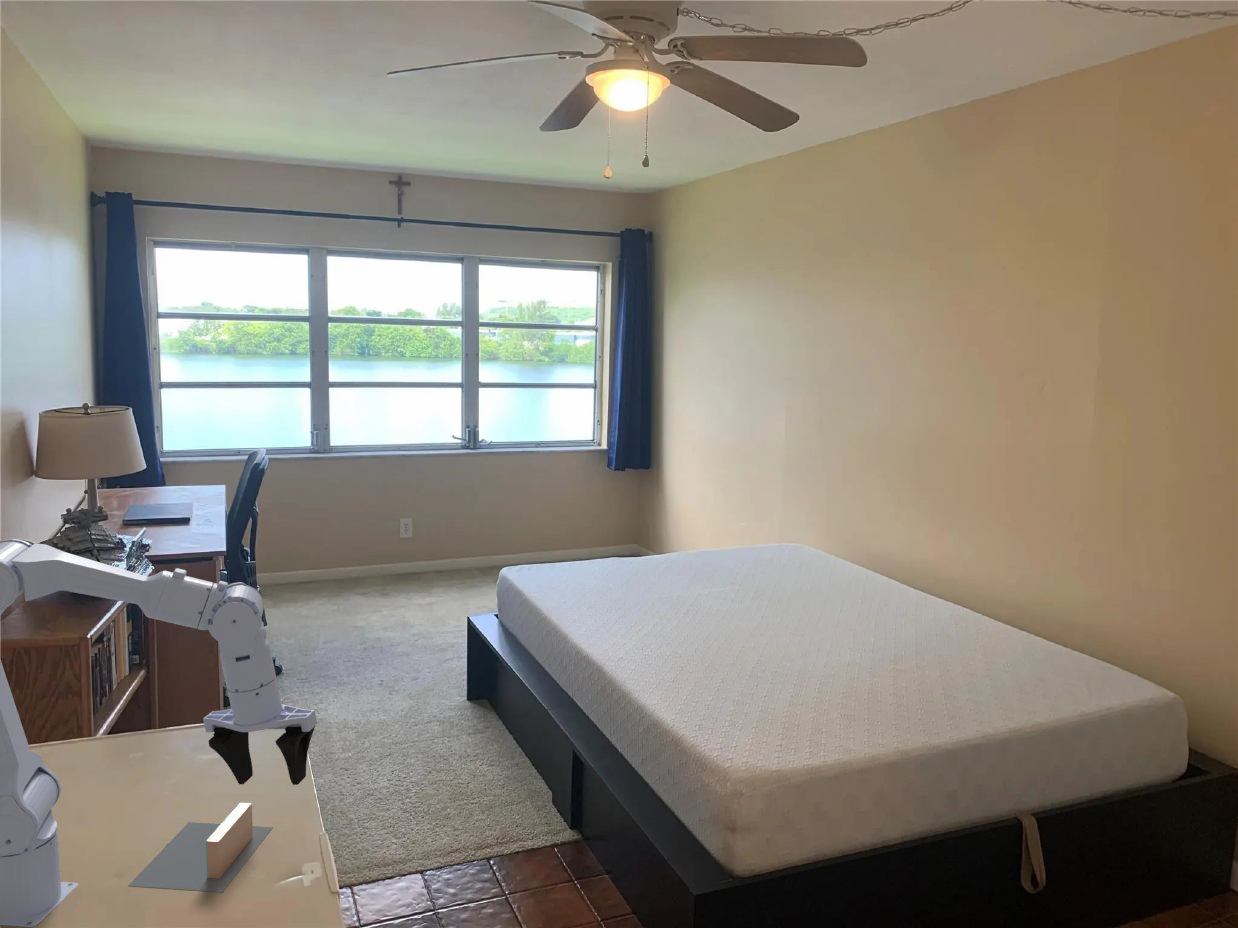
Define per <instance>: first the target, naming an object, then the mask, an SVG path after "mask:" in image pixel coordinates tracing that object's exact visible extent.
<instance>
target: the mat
mask: <svg viewBox="0 0 1238 928" xmlns="http://www.w3.org/2000/svg"><path fill="white" fill-rule="evenodd" d="M220 825H221V823H207V822H195V821H194V822H193V821H192V822H191V821H189V822H187V824H185V826H183V828H182V829H181V830H180V831H179V832H178V833H176V835H175V836H174V837H173V838H172V839H171V840H170V841H169V843H167V845H165V847H164V848H163V849H162V850H160V852H159V853H158V854H157V855H156V856H155V857H154V858H153V859H152V860H151V861H150V862H149V863H148V864H147V865H146V866H145V867H144V868H143V869H142V871H140V873H138V874H137V875H136V877H134V879H133V880H131V882H130V883H129V884H128V885H127V886H128V887H134V888H136V887H138V888H149V889H165V890H180V891H195V892H196V891H197V892H209V893H211V892H213V893H224V892H225V890H226V889H227V888H228V887H229V885H230V884H231V883H232V881H233V880H234V879H235V878H236V876H237V875H238V874H239V872H240V871H241V870H242V868H243V867H244V866H245V865H246V863H247V862H248V861H249V859H250V858H252V855H253V854H254V853H255V852H256V850H257V849H258V848H259V847H260V846H261V844H262V842H263V841H265V839H266V838H267V836H268V835H269V834H270V832H271V831H272V829H274V827H271V826H256V825H252V827H253V837H252V839H251V840H250V841H249V842H248V844H247V845H246V846H245V847H244V849H243V850H242V851H241V852H240V854H239V855H238V856H237V857H236V859H235V860H234V861H233V862H232V864H231V865H230V866H229V867H228V869H227V870H226V871H225V872H224V873H223V875H222V876H221V877H220V878H207V863H206V840H207V839H208V838H209V837H210V836H211V835H212V834H213V832H214V831H215V830H216V829H217V828H218V827H219V826H220Z"/></svg>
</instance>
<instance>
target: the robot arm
mask: <svg viewBox="0 0 1238 928" xmlns="http://www.w3.org/2000/svg"><path fill="white" fill-rule="evenodd" d="M60 591H64V592H71V593H76V594H80V595H81V594H82V595H87V596H91V597H97V598H102V599H109V600H113V601H118V602H124V603H129V604H135V605H137V606H138V607H139V608H140V609H141V611H142V613H143V614H144V615H145V617H147V618H148V619H153V620H158V621H160V622H161V621H162V622H164V623H165V622H166V623H171V624H174V625H178V626H183V627H187V628H192V629H196V630H199V631H208V632H209V633H210V636H211V637H213V639H215V640H216V641H217V643H218V649H219V652H220V653H219V658H220V664H221V668H222V672H223V678H224V681H225V686H226V691H227V696H228V700H229V704H230V705H229V706H230V708H229V709H224V710H212V711H211V712H209V713H208V714H207V715H206V716H204V717H203V718H202V721H203V725H204V730H205V732H206V733H213V734H212V735H213V736H211V738H210V739H209V740H208V746H209V748H211V749H212V750H213V751H214V752H216V753H217V754H218V756H220V758H222V760H224V762H225V763H226V765H227V766H228V768H229V769H230V771H231V772H232V775H233V776H234V778H235V780H236V782H237V783H238V785H244V784H246V783H247V782H248V781H249V780H251V777H253V775H254V774H253V773H254V771H253V769H254V768H253V764H252V758H251V751H250V743H249V739H250V738H249V736H250V735H249V733H252V732H258V731H264V730H265V731H266V730H284V731H285V732H283V733H282V734H281V735H280V736H279V737H278V738H276V740H275V744H276V746H277V747H278V748H279V750H280V752H281V754H282V757H283V758H284V762H285V764H286V766H287V772H288V775H289V779H290V781H291V784H292V785H293V786H294V785H295V786H296V785H297V786H298V785H299V784H300V783H301V782H302V781H303V780H304V779H305V778H306V776H307V763H308V762H307V759H308V752H309V749H310V748H309V747H310V743H311V740H312V736H313V734H314V730H315V728H316V726H317V724H318V720H317V716H316V715H317V714H316V710H315V709H305V708H300V707H295V706H292V705H287V704H284V702H283V699H282V697H281V694H280V689H279V684H278V680H277V676H276V675H277V674H276V669H275V666H274V659H273V654H272V650H271V645H270V642H269V640H268V639H267V635H268V633H267V629H266V628H265V623H264V621H263V619H262V616H263V613H264V608H265V607H264V599H263V596H262V595H261V594H260V592H259V591H258V590H257V589H256V588H255V587H253V586H250V585H247V584H246V583H244V582H241V581H239V582H233V583H229V582H227V581H223V580H219V582H218V583H217V582H212V581H208V580H206V579H205V580H204V579H200V578H196V577H192V576H189V575H188V576H187V570H186V569H181V568H177V567H176V568H175V569H174V571H172V572H171V571H168V570H162V571H160V572H158V573H155V574H152V575H150V576H146V575H145V574H144V575H143V574H140V573H136V572H133V571H129V570H127V569H124V568H120V567H117V566H114V565H109V564H106V563H103V562H99V561H97V560H93V559H89V558H87V557H83V556H80V555H77V554H73V553H69V552H66V551H63V550H61V549H59V548H56V547H53V546H51V545H48V544H42V543H33V544H31V543H30V542H28V541H25V540H23V539H16V538H7V539H2V540H0V616H2V614H3V613H4V611H5V610H6V609H7V608H9V607H10V606H11V605H12V604H13V603H14V602H15V601H16V599H17V598H18V597H19V596H20V595H21V594H23V593H24V601H25V602H29V601H32V600H35V599H38V598H42V597H45V596H48V595H50V594H54V593H57V592H60ZM61 791H62V788H61V781H60V780H59V778H58V776H57V775H56V774H55V773H53V772H52V771H51V770H50V769H49V768H48V767H47V766H46V764H45V762H44V760H43V755H41V754H40V753H38V752H35V751H33V750H32V749H30V746H29V743H28V739H27V737H26V734H25V730H24V727H23V724H22V721H21V718H20V715H19V712H18V709H17V706H16V703H15V699H14V697H13V693H12V691H11V688H10V684H9V681H8V679H7V676H6V672H5V669H4V666H3V663H2V660H1V659H0V926H11V927H26V928H32V927H36V926H37V925H39V923H41V922H42V920H44V919H45V918H46V917H47V916H48V915H49V914H50V913H51V912H52V911H53V910H54V909H55V908H57V906H58V905H60V904H61V902H62V901H64V899H66V898H67V897H68V896H69V895H70V894H71V893H72V892H73V891H74V890H75V889H76V888H77V887H78V886H79V885H80V883H78V882H72V881H71V882H70V881H62V875H61V864H60V850H59V849H60V848H59V834H58V822H57V821H56V819H55V817H54V815H53V813H52V812H53V811H52V808H53V807H54V806H55V805H56V803H57V802H58V800H59V799H60V796H61ZM28 923H29V924H28Z"/></svg>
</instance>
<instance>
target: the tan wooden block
mask: <svg viewBox="0 0 1238 928" xmlns="http://www.w3.org/2000/svg"><path fill="white" fill-rule="evenodd" d="M220 824H221V825H220V826H219V827H218V828H217V829H216V830H215V831H214V832H213V834H212V835H211V836H210V837H209V838H208V839H207V840H206V863H207V878H220V877H221V876H222V875H223V873H224V872H225V871H226V870H227V869H228V867H229V866H230V865H231V864H232V862H233V861H234V860H235V859H236V857H237V856H238V855H239V854H240V852H241V851H242V850H243V849H244V847H245V846H246V845H247V844H248V842H249V841H250V840H251V839H252V837H253V827H252V826H253V803H251V802H241V801H240V802H239V803H238V804H237V806H235V808H234V809H233V810H232V811H231V812H230V813H229V814H228V815H227V817H225V819H224V820H223V821H222V822H221V823H220Z"/></svg>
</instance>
